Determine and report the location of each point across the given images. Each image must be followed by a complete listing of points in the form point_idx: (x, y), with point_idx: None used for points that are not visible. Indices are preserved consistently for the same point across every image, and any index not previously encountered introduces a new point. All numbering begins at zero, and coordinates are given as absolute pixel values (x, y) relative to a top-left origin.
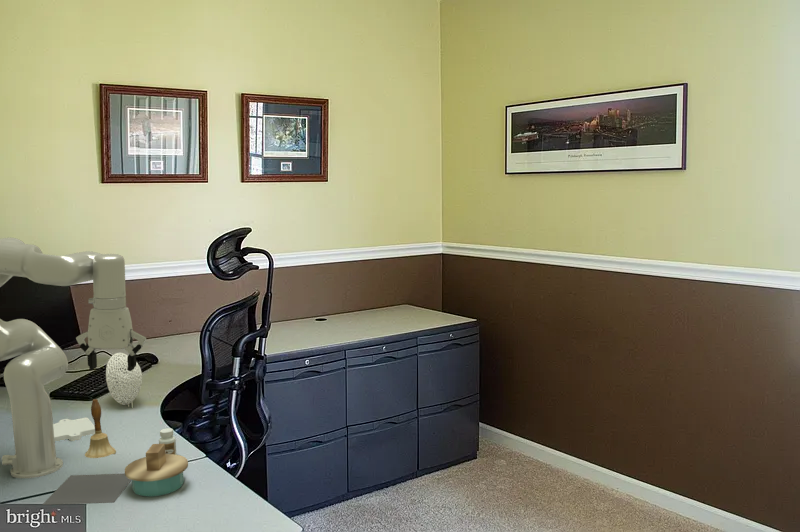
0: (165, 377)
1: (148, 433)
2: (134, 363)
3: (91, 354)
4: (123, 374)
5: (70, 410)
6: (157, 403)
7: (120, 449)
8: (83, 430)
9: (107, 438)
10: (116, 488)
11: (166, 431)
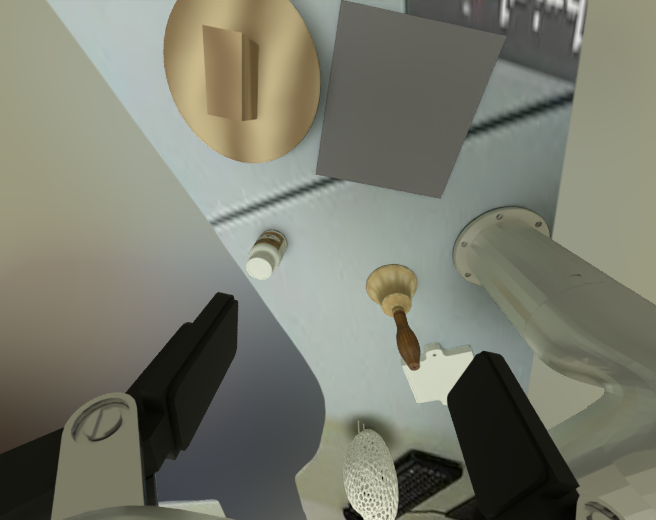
0: (328, 480)
1: (323, 340)
2: (174, 341)
3: (545, 496)
4: (369, 476)
5: (438, 431)
6: (326, 423)
7: (359, 295)
8: (421, 364)
9: (380, 300)
10: (345, 95)
11: (257, 263)
